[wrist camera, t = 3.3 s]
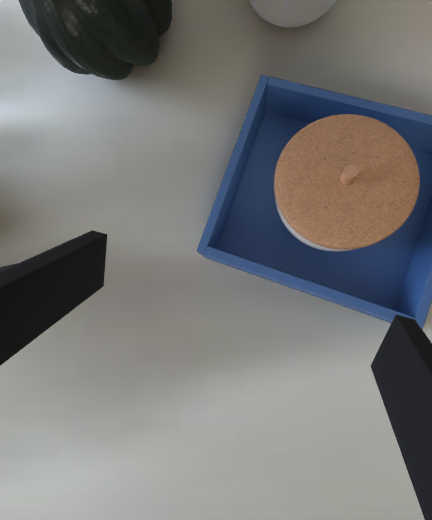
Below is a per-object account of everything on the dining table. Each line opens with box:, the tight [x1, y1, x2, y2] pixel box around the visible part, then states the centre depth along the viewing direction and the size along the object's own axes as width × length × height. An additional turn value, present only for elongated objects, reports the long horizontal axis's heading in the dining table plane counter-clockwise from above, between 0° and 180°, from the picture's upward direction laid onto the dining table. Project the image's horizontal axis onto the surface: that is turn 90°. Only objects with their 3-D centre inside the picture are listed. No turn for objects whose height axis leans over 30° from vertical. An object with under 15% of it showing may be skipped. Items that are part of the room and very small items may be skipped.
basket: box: [197, 75, 432, 329], centre depth 30 cm, size 20×18×5 cm
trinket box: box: [274, 114, 420, 252], centre depth 28 cm, size 11×11×9 cm
